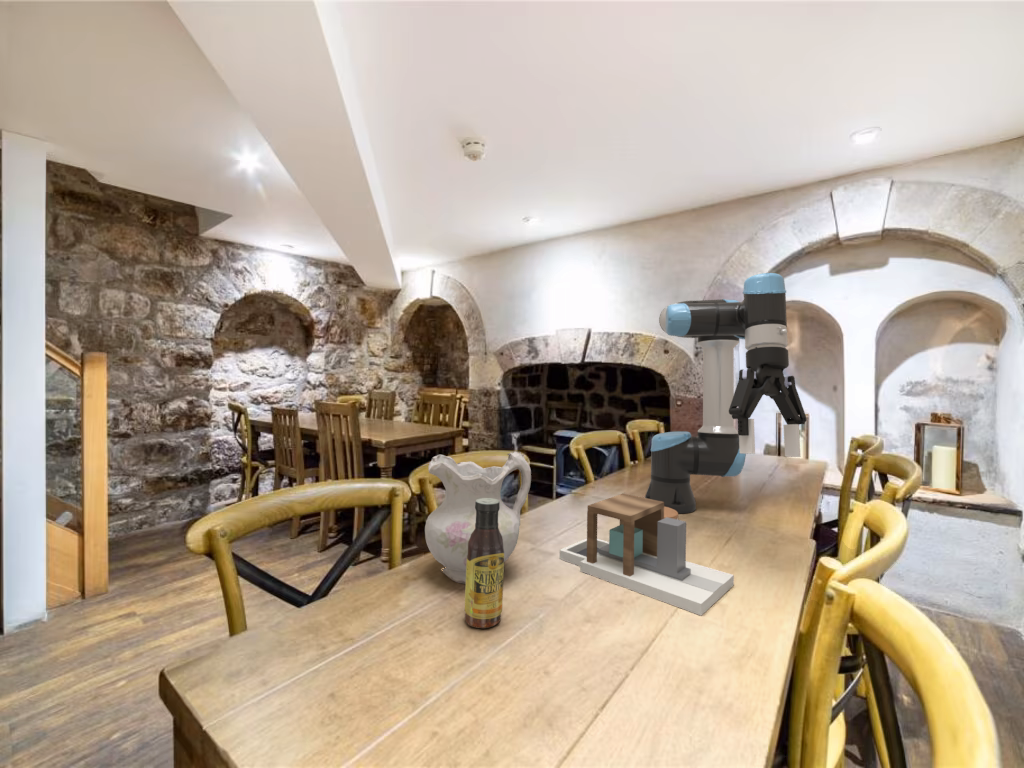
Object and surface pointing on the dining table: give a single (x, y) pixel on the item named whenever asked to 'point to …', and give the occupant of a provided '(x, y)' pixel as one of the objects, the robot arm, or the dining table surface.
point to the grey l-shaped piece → (664, 550)
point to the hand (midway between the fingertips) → (770, 455)
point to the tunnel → (626, 525)
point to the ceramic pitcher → (471, 509)
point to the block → (617, 541)
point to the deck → (655, 579)
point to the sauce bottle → (484, 567)
